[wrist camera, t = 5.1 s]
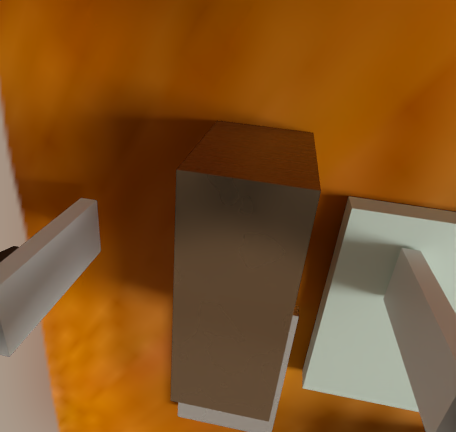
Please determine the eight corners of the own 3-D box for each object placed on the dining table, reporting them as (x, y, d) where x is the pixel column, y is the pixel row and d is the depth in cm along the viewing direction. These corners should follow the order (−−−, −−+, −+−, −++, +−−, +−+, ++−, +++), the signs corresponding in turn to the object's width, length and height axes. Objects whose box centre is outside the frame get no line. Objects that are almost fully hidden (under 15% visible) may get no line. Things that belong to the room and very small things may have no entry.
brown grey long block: (194, 117, 16) (142, 164, 11) (337, 135, 15) (358, 196, 10) (181, 405, 25) (149, 508, 20) (271, 424, 24) (263, 536, 19)
